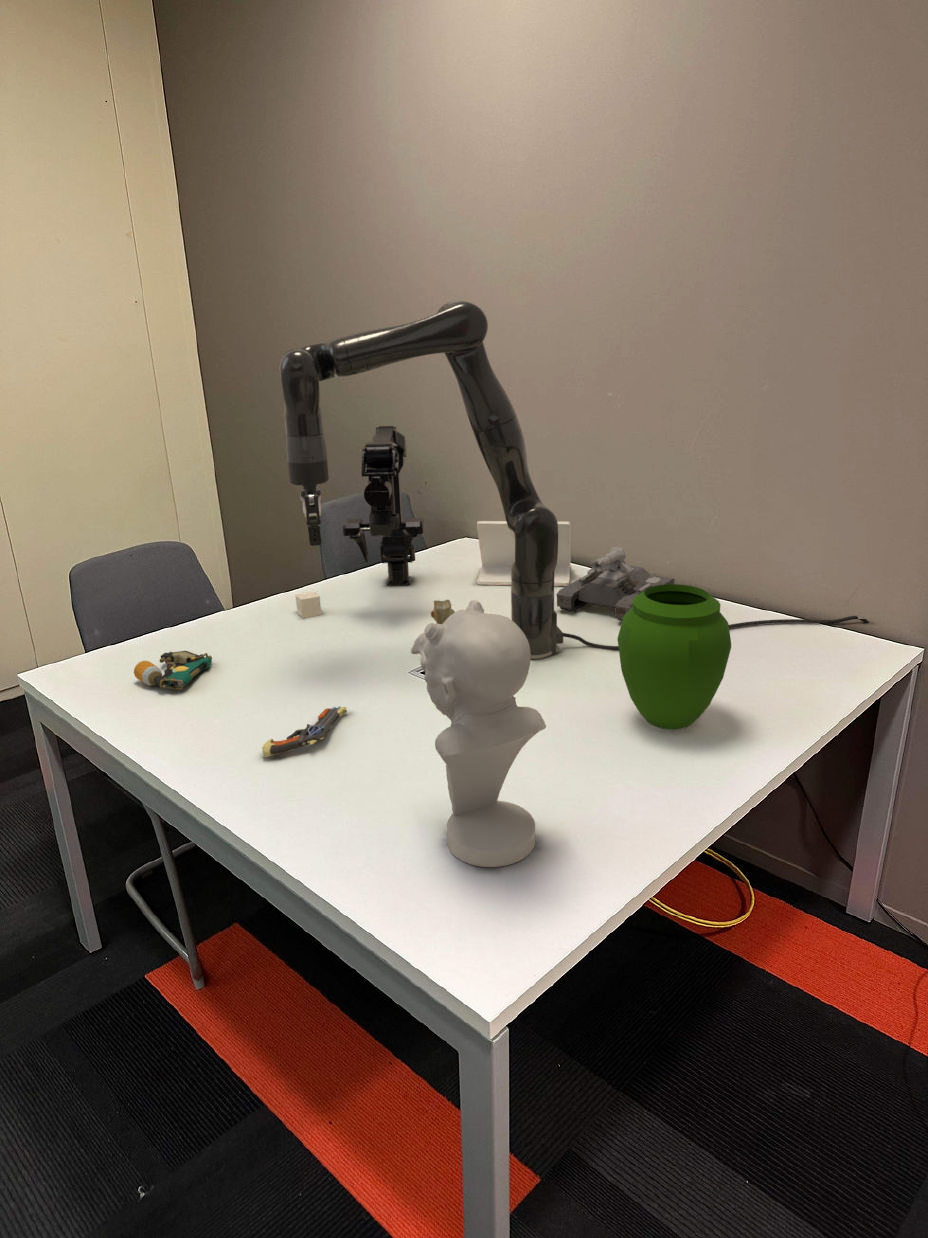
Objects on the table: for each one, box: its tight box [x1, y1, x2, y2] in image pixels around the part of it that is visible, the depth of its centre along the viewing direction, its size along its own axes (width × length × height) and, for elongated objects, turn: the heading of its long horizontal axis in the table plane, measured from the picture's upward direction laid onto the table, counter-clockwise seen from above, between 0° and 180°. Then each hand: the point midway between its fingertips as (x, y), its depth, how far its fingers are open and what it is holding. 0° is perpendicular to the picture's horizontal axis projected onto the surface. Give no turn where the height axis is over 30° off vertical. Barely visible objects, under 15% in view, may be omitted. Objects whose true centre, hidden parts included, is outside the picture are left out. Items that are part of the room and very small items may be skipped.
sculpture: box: [430, 599, 456, 624], centre depth 177 cm, size 6×7×15 cm
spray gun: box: [133, 650, 213, 690], centre depth 180 cm, size 4×17×15 cm
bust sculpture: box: [410, 599, 547, 868], centre depth 121 cm, size 16×24×35 cm
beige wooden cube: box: [295, 590, 322, 619], centre depth 214 cm, size 5×5×5 cm
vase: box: [616, 583, 732, 731], centre depth 151 cm, size 20×20×24 cm
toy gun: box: [261, 705, 348, 758], centre depth 154 cm, size 3×19×10 cm
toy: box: [556, 546, 676, 622], centre depth 212 cm, size 25×20×15 cm
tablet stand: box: [476, 520, 572, 587], centre depth 236 cm, size 18×25×17 cm
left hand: (386, 561), depth 205 cm, fingers open, 9 cm apart
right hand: (314, 539), depth 170 cm, fingers open, 8 cm apart
